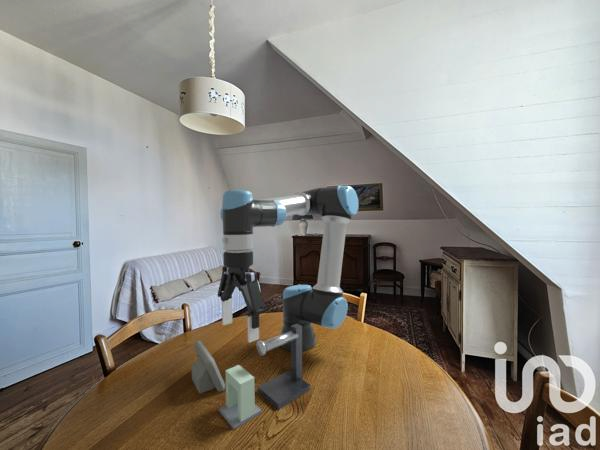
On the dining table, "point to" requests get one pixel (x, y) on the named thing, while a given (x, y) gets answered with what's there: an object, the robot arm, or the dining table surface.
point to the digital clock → (206, 371)
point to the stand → (287, 383)
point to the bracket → (240, 391)
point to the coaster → (236, 415)
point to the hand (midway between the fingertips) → (239, 331)
